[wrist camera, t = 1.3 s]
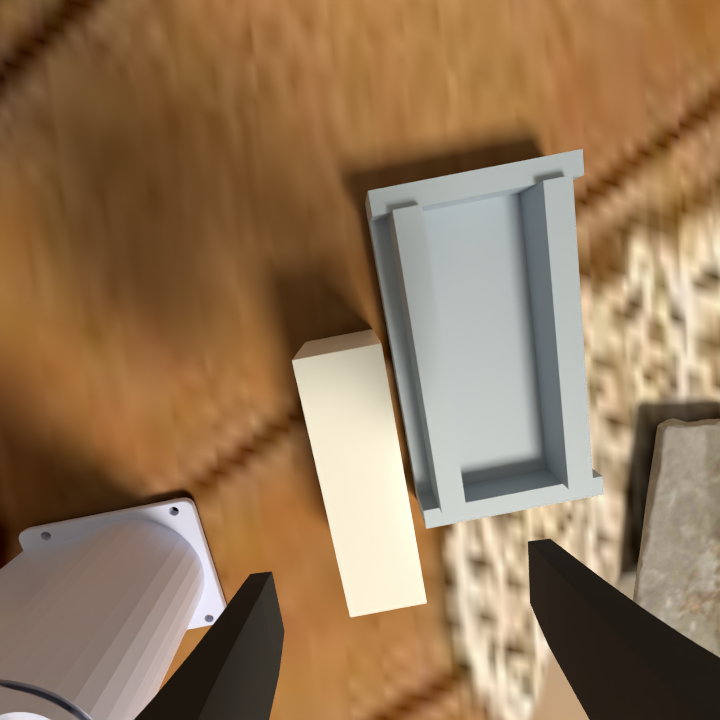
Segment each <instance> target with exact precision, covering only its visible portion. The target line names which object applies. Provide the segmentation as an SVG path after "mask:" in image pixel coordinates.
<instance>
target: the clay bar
mask: <svg viewBox="0 0 720 720" xmlns="http://www.w3.org/2000/svg"><path fill="white" fill-rule="evenodd" d="M292 363H293V368H294V372H295V376H296V381H297V385H298V390H299V394H300V398H301V403H302V407H303V412H304V416H305V420H306V425H307V429H308V434H309V438H310V442H311V447H312V451H313V456H314V460H315V464H316V469H317V473H318V478H319V482H320V486H321V491H322V495H323V500H324V504H325V508H326V513H327V517H328V522H329V526H330V530H331V535H332V539H333V544H334V548H335V552H336V557H337V561H338V566H339V570H340V574H341V579H342V583H343V588H344V592H345V596H346V601H347V605H348V610H349V614H350V617H355V616H360V615H365V614H371V613H376V612H381V611H387V610H392V609H397V608H403V607H408V606H413V605H419V604H424V603H427V601H426V595H425V590H424V584H423V578H422V573H421V567H420V561H419V556H418V550H417V544H416V538H415V533H414V527H413V521H412V516H411V510H410V504H409V498H408V493H407V487H406V481H405V476H404V470H403V464H402V459H401V453H400V447H399V441H398V436H397V430H396V424H395V419H394V413H393V407H392V402H391V396H390V390H389V384H388V379H387V373H386V367H385V362H384V356H383V350H382V344H381V342H380V340H379V339H378V337H377V335H376V334H375V332H374V330H373V329H370V330H365V331H360V332H354V333H349V334H344V335H339V336H333V337H328V338H323V339H317V340H312V341H307V342H305V343H304V345H303V346H302V347H301V349H300V350H299V351H298V353H297V354H296V355H295V357H294V358H293V359H292Z"/></svg>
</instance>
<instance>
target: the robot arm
mask: <svg viewBox="0 0 720 720" xmlns="http://www.w3.org/2000/svg"><path fill="white" fill-rule="evenodd" d="M172 507H176V508H178V510H179V511H175V510H173V508H172ZM47 532H48V533H49V534H50V535H49V534H48V533H47ZM19 542H20V544H21V546H22V549H23V551H22V552H21V553H20V554H19V555H17V556H16V557H15V558H14V559H13V560H11V561H10V562H9V563H8V564H6V565H5V566H4V567H3V568H2V569H0V720H269V717H270V713H271V708H272V704H273V699H274V695H275V690H276V686H277V681H278V677H279V670H280V663H281V655H282V647H283V638H284V627H283V622H282V617H281V613H280V608H279V603H278V598H277V594H276V589H275V584H274V579H273V575H272V572H264V573H255V574H250V575H249V577H248V578H247V579H246V580H245V582H244V583H243V584H242V586H241V587H240V589H239V590H238V591H237V593H236V594H235V595H234V597H233V598H232V600H231V601H230V602H229V604H228V605H226V602H225V599H224V596H223V592H222V589H221V586H220V583H219V580H218V576H217V573H216V570H215V567H214V564H213V561H212V557H211V554H210V551H209V548H208V545H207V541H206V538H205V535H204V532H203V529H202V525H201V522H200V519H199V516H198V513H197V509H196V506H195V504H194V502H193V501H192V500H191V499H190V498H179V499H173V500H168V501H163V502H158V503H153V504H148V505H143V506H137V507H132V508H127V509H122V510H117V511H112V512H106V513H101V514H96V515H91V516H86V517H81V518H76V519H70V520H65V521H60V522H55V523H50V524H45V525H39V526H34V527H29V528H27V529H25V530H24V531H23V532H21V533H20V535H19ZM528 555H529V583H530V604H531V606H532V608H533V611H534V613H535V615H536V618H537V620H538V623H539V625H540V627H541V629H542V632H543V634H544V636H545V638H546V641H547V643H548V645H549V647H550V649H551V651H552V653H553V654H554V656H555V658H556V660H557V662H558V664H559V665H560V667H561V669H562V671H563V673H564V674H565V676H566V678H567V680H568V682H569V683H570V685H571V687H572V689H573V691H574V692H575V694H576V696H577V698H578V700H579V701H580V703H581V705H582V707H583V709H584V710H585V712H586V714H587V716H588V718H589V719H590V720H720V657H718V656H717V655H715V654H713V653H712V652H710V651H708V650H707V649H705V648H703V647H702V646H700V645H698V644H697V643H695V642H694V641H692V640H690V639H689V638H687V637H686V636H684V635H683V634H681V633H679V632H678V631H676V630H675V629H673V628H672V627H670V626H669V625H667V624H666V623H664V622H663V621H661V620H660V619H658V618H657V617H655V616H654V615H652V614H651V613H649V612H648V611H647V610H645V609H644V608H642V607H641V606H639V605H638V604H637V603H635V602H634V601H632V600H631V599H629V598H628V597H627V596H625V595H624V594H622V593H621V592H620V591H618V590H617V589H616V588H614V587H613V586H612V585H610V584H609V583H607V582H606V581H605V580H603V579H602V578H601V577H599V576H598V575H597V574H595V573H594V572H593V571H592V570H590V569H589V568H588V567H586V566H585V565H584V564H582V563H581V562H580V561H578V560H577V559H576V558H575V557H573V556H572V555H571V554H569V553H568V552H567V551H565V550H564V549H563V548H562V547H560V546H559V545H558V544H556V543H555V542H554V541H552V540H551V539H545V540H536V541H528ZM209 615H212V616H209ZM208 625H212V626H211V628H210V629H209V630H208V632H207V633H206V634H205V636H204V637H203V638H202V640H201V641H200V642H199V643H198V645H197V646H196V647H195V649H194V650H193V651H192V652H191V654H190V655H189V656H188V657H187V658H186V660H185V661H184V662H183V663H182V665H181V666H180V667H179V668H178V669H177V671H176V672H175V673H174V674H173V675H172V677H171V678H170V679H169V680H168V681H167V683H166V684H165V685H164V686H163V687H162V689H161V690H160V691H159V692H158V690H159V688H160V686H161V684H162V681H163V679H164V677H165V675H166V673H167V671H168V668H169V666H170V664H171V662H172V660H173V658H174V655H175V653H176V651H177V649H178V647H179V645H180V643H181V640H182V638H183V636H184V634H185V632H186V630H188V629H193V628H198V627H203V626H208ZM157 692H158V693H157Z"/></svg>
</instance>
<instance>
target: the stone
mask: <svg viewBox="0 0 720 720" xmlns="http://www.w3.org/2000/svg"><path fill="white" fill-rule="evenodd" d="M633 601H634V602H635V603H637V604H638V605H639V606H641V607H642V608H644V609H645V610H647V611H648V612H649V613H651V614H652V615H654V616H655V617H657V618H658V619H660V620H661V621H663V622H664V623H666V624H667V625H669V626H670V627H672V628H673V629H675V630H676V631H678V632H679V633H681V634H683V635H684V636H686V637H687V638H689V639H690V640H692V641H694V642H695V643H697V644H698V645H700V646H702V647H703V648H705V649H707V650H708V651H710V652H712V653H713V654H715V655H717V656H718V657H720V419H704V420H699V421H694V422H685V421H682V420H679V419H673V418H672V419H667V420H666V421H664V422H662V423H660V424H659V425H658V426H657V433H656V439H655V448H654V454H653V460H652V467H651V472H650V479H649V485H648V492H647V499H646V506H645V514H644V523H643V531H642V540H641V548H640V554H639V560H638V567H637V575H636V582H635V589H634V598H633Z"/></svg>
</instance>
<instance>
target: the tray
mask: <svg viewBox="0 0 720 720" xmlns="http://www.w3.org/2000/svg"><path fill="white" fill-rule="evenodd" d="M583 175H584V165H583V149H580V150H575V151H570V152H565V153H560V154H554V155H549V156H544V157H539V158H534V159H529V160H524V161H518V162H513V163H508V164H503V165H498V166H493V167H488V168H482V169H477V170H472V171H467V172H462V173H457V174H452V175H446V176H441V177H436V178H431V179H426V180H421V181H416V182H411V183H405V184H400V185H395V186H390V187H385V188H380V189H375V190H369V191H368V193H367V197H366V201H365V207H366V213H367V219H368V224H369V230H370V236H371V242H372V247H373V253H374V259H375V264H376V270H377V276H378V281H379V287H380V293H381V298H382V304H383V310H384V315H385V321H386V327H387V332H388V338H389V344H390V349H391V355H392V361H393V366H394V372H395V378H396V384H397V389H398V395H399V401H400V406H401V412H402V418H403V423H404V429H405V435H406V440H407V446H408V452H409V457H410V463H411V469H412V474H413V480H414V486H415V491H416V497H417V502H418V505H419V508H420V511H421V514H422V517H423V520H424V523H425V526H426V529H427V528H432V527H437V526H443V525H448V524H453V523H458V522H463V521H468V520H473V519H479V518H484V517H489V516H494V515H499V514H504V513H510V512H515V511H520V510H525V509H530V508H535V507H541V506H546V505H551V504H556V503H561V502H566V501H572V500H577V499H582V498H587V497H592V496H597V495H602V494H604V492H603V476H601V475H600V474H599V473H597V472H596V471H595V470H593V469H592V459H591V444H590V429H589V414H588V399H587V384H586V369H585V354H584V339H583V325H582V310H581V295H580V280H579V265H578V250H577V235H576V220H575V205H574V190H573V180H574V179H576V178H578V177H581V176H583Z"/></svg>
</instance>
